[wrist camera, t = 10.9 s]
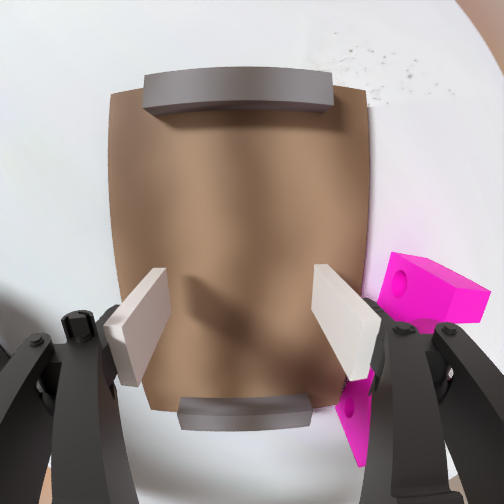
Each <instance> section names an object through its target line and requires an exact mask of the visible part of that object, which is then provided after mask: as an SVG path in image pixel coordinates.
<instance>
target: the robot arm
mask: <svg viewBox="0 0 504 504" xmlns="http://www.w3.org/2000/svg"><path fill="white" fill-rule="evenodd" d="M311 310H312V312H313V313H314V315H315V317H316V319H317V321H318V323H319V324H320V326H321V328H322V330H323V332H324V334H325V335H326V337H327V339H328V341H329V343H330V345H331V347H332V349H333V350H334V352H335V354H336V356H337V358H338V360H339V362H340V364H341V365H342V367H343V369H344V371H345V373H346V375H347V377H348V379H349V381H354V380H360V379H365V378H367V376H368V373H369V369H370V367H371V368H372V370H373V371H374V373H375V374H374V377H373V381H372V384H371V387H370V390H369V393H368V396H370V395H371V393H372V400H371V418H370V431H369V441H368V451H367V459H366V466H365V473H364V480H363V486H362V492H361V497H360V502H359V504H464V500H463V496H462V495H461V494H460V492H456V491H451V490H450V488H449V483H448V469H447V458H446V450H445V443H446V445H447V447H448V450H449V452H450V455H451V457H452V460H453V462H454V465H455V467H456V470H457V472H458V475H459V478H460V480H461V483H462V486H463V489H464V491H465V495H466V497H467V501H468V504H504V375H503V374H502V373H501V372H500V370H499V369H498V368H497V367H496V366H495V365H494V363H493V362H492V361H491V360H490V359H489V358H488V357H487V355H486V354H485V353H484V352H483V351H482V350H481V349H480V348H479V346H478V345H477V344H476V343H475V342H474V341H473V340H472V339H471V338H470V337H469V336H468V335H467V334H466V332H465V331H464V330H463V329H462V328H460V327H459V326H458V325H455V324H454V323H450V322H441V323H438V324H437V325H436V326H435V329H434V333H433V334H420V333H419V331H418V329H417V328H416V327H415V326H414V325H412V324H410V323H407V322H402V321H394V320H393V319H392V318H391V317H390V316H389V315H388V314H387V313H386V312H384V310H383V309H382V308H380V306H379V305H378V304H377V303H376V302H374V301H372V300H370V299H368V298H361V297H360V296H359V295H358V294H357V293H356V292H355V291H354V290H353V289H352V288H351V287H350V286H349V285H348V284H347V283H346V282H345V281H344V280H343V279H342V278H341V277H340V276H339V275H338V274H337V273H336V272H335V271H334V270H333V269H332V268H331V267H330V266H329V265H328V264H314V277H313V292H312V305H311ZM171 313H172V312H171V305H170V297H169V289H168V280H167V271H166V268H153V269H152V270H151V271H150V272H149V273H148V274H147V275H146V276H145V277H144V279H143V280H142V281H141V282H140V283H139V284H138V285H137V286H136V288H135V289H134V290H133V291H132V292H131V293H130V294H129V296H128V297H127V298H126V299H125V300H124V301H123V302H122V304H121V305H114V306H113V307H111V308H109V309H108V310H107V311H106V312H105V313H104V314H103V315H102V316H101V317H100V319H99V320H98V321H97V322H96V323H95V320H94V316H93V313H92V312H90V311H87V310H78V311H73V312H71V313H68V314H66V315H65V316H64V317H63V318H62V319H61V322H62V325H63V328H64V332H65V335H66V338H67V343H66V344H53V343H52V340H51V337H50V336H49V335H48V334H45V333H36V334H33V335H32V336H30V337H28V338H27V339H26V340H25V341H24V342H23V343H22V345H21V346H20V347H19V348H18V350H17V351H16V352H15V354H14V355H13V356H12V357H11V359H9V357H8V356H7V355H6V353H5V352H4V351H3V350H2V349H1V347H0V504H39V499H40V494H41V490H42V485H43V481H44V477H45V473H46V470H47V466H48V463H49V459H50V456H51V481H52V504H139V501H138V498H137V494H136V491H135V487H134V483H133V480H132V476H131V472H130V467H129V463H128V459H127V454H126V449H125V444H124V439H123V433H122V427H121V421H120V414H119V407H118V398H117V390H116V387H115V384H114V379H115V377H116V375H118V378H119V380H120V383H121V385H125V386H133V387H139V385H140V382H141V380H142V378H143V375H144V373H145V370H146V368H147V366H148V364H149V361H150V359H151V357H152V354H153V352H154V350H155V348H156V345H157V343H158V341H159V339H160V336H161V334H162V332H163V330H164V328H165V326H166V323H167V321H168V319H169V317H170V315H171ZM451 367H452V369H453V373H454V374H453V376H452V378H450V377H449V376H448V374H449V371H450V369H451ZM37 380H38V381H39V383H40V385H41V389H40V390H39V391H38V389H37V388H36V384H37ZM444 440H445V442H444ZM51 452H52V453H51Z"/></svg>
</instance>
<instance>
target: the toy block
mask: <svg viewBox="0 0 504 504" xmlns="http://www.w3.org/2000/svg"><path fill="white" fill-rule="evenodd" d="M490 293H491V291H489V290H488V289H486V288H484V287H482V286H480V285H478V284H477V283H475V282H473V281H471V280H469V279H467V278H465V277H464V276H462V275H460V274H458V273H456V272H454V271H452V270H450V269H448V268H446V267H444V266H442V265H440V264H438V263H436V262H434V261H432V260H430V259H428V258H423V257H418V256H412V255H407V254H401V253H396V252H391V255H390V259H389V263H388V267H387V271H386V274H385V278H384V281H383V285H382V288H381V292H380V295H379V298H378V301H377V304H378V305H379V306H380V308H382V309H383V310H384V312H386V313H387V314H388V315H389V316H390V317H391V318H392V319H393V320H394V321H402V322H407V323H410V324H412V325H414V326H415V327H416V328H417V329H418V331H419V333H420V334H433V333H434V329H435V326H436V325H437V324H438V323H441V322H450V323H480V321H481V318H482V316H483V313H484V310H485V308H486V305H487V302H488V299H489V296H490ZM374 374H375V373H374V371H373V370H372V368H371V367H370V369H369V373H368V376H367V378H365V379H360V380H354V381H349V379H348V381H347V383H346V386H345V388H344V390H343V392H342V395H341V397H340V400H339V404H337V405H336V407H335V409H336V411H337V414H338V416H339V419H340V421H341V424H342V426H343V429H344V431H345V434H346V437H347V439H348V442H349V444H350V447H351V449H352V452H353V454H354V457H355V460H356V462H357V465H358V467H363V466H366V459H367V451H368V441H369V431H370V418H371V400H372V393H371V395H370V396H368V393H369V390H370V387H371V384H372V381H373V377H374Z"/></svg>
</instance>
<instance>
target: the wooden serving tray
mask: <svg viewBox="0 0 504 504" xmlns="http://www.w3.org/2000/svg"><path fill="white" fill-rule="evenodd" d="M108 182H109V203H110V217H111V229H112V238H113V247H114V255H115V263H116V270H117V276H118V282H119V288H120V294H121V299H122V302H123V301H124V300H125V299H126V298H127V297H128V296H129V294H130V293H131V292H132V291H133V290H134V289H135V288H136V286H137V285H138V284H139V283H140V282H141V281H142V280H143V279H144V277H145V276H146V275H147V274H148V273H149V272H150V271H151V270H152V269H153V268H166V271H167V280H168V289H169V297H170V305H171V312H172V313H171V315H170V317H169V319H168V321H167V323H166V326H165V328H164V330H163V332H162V334H161V336H160V339H159V341H158V343H157V345H156V348H155V350H154V352H153V354H152V357H151V359H150V361H149V364H148V366H147V368H146V370H145V373H144V375H143V378H142V380H141V381H142V384H143V387H144V390H145V394H146V397H147V400H148V403H149V405H150V408H151V410H159V411H170V412H177V416H178V420H179V423H180V426H181V430H194V431H261V430H276V429H287V428H297V427H305V426H310V422H311V417H312V412H313V409H312V408H318V407H325V406H331V405H337V404H339V400H340V397H341V393H342V389H343V385H344V381H345V376H346V373H345V371H344V369H343V367H342V365H341V364H340V362H339V360H338V358H337V356H336V354H335V352H334V350H333V349H332V347H331V345H330V343H329V341H328V339H327V337H326V335H325V334H324V332H323V330H322V328H321V326H320V324H319V323H318V321H317V319H316V317H315V315H314V313H313V312H312V310H311V305H312V292H313V277H314V264H328V265H329V266H330V267H331V268H332V269H333V270H334V271H335V272H336V273H337V274H338V275H339V276H340V277H341V278H342V279H343V280H344V281H345V282H346V283H347V284H348V285H349V286H350V287H351V288H352V289H353V290H354V291H355V292H356V293H357V294H358V295H359V296H360V295H361V287H362V279H363V271H364V261H365V251H366V239H367V225H368V205H369V133H368V114H367V100H366V91H365V90H359V89H354V88H348V87H341V86H334V85H333V82H332V73H329V72H322V71H314V70H304V69H293V68H278V67H214V68H199V69H188V70H178V71H170V72H162V73H156V74H149V75H145V77H144V88H140V89H134V90H129V91H124V92H119V93H114V94H111V98H110V112H109V132H108Z"/></svg>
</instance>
